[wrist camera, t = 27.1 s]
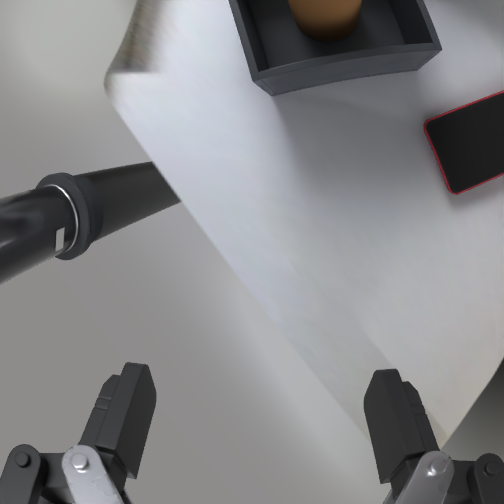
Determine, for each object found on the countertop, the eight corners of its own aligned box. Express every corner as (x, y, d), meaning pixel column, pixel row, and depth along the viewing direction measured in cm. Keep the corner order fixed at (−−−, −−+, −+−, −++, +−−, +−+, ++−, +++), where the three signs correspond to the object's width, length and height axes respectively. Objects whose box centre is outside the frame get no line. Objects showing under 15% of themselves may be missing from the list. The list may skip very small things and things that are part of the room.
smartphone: (420, 122, 24) (533, 79, 18) (419, 123, 25) (530, 81, 19) (451, 197, 25) (559, 149, 19) (448, 196, 26) (554, 148, 20)
